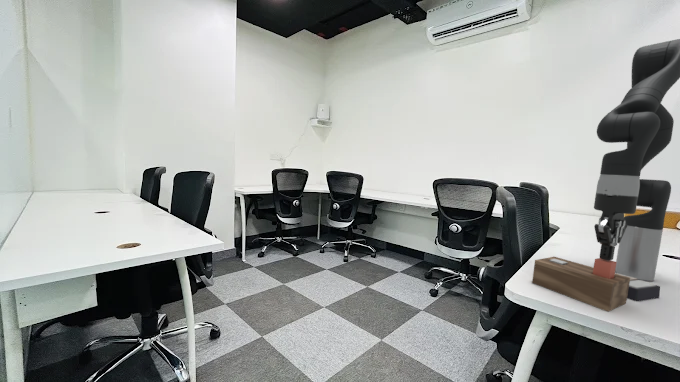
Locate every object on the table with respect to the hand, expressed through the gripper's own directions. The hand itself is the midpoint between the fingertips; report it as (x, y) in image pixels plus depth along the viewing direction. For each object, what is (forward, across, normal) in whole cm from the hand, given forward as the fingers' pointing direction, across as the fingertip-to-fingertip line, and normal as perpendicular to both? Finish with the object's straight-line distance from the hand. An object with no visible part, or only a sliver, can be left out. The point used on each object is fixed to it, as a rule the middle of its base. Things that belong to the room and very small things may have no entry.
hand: (605, 259), depth 70 cm
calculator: (+12, -17, -2) cm, 21 cm away
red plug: (+7, 0, 0) cm, 7 cm away
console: (+11, 0, -5) cm, 12 cm away
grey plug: (+11, 0, -10) cm, 15 cm away
